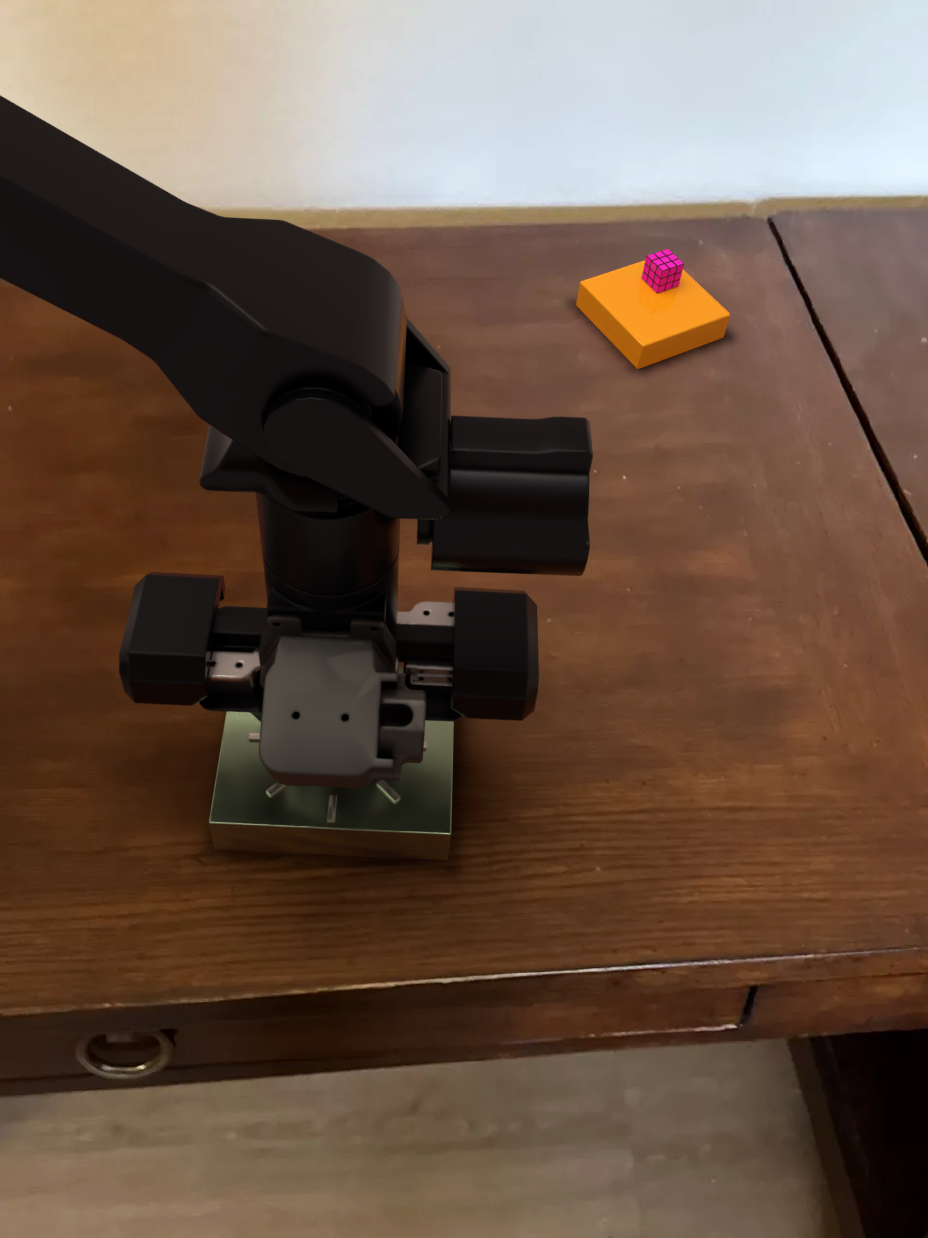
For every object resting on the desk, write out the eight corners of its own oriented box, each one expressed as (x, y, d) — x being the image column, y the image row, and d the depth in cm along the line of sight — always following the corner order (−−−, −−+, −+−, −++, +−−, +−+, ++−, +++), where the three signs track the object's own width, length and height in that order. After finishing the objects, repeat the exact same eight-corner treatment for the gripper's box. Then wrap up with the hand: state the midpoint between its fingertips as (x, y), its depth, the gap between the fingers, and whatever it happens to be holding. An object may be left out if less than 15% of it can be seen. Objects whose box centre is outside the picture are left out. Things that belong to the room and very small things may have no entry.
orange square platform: (724, 338, 90) (738, 291, 86) (637, 370, 87) (648, 323, 84) (660, 276, 94) (671, 229, 90) (575, 305, 91) (583, 257, 87)
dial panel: (213, 850, 62) (207, 821, 60) (238, 688, 68) (234, 655, 66) (447, 861, 63) (451, 833, 60) (451, 699, 69) (455, 667, 66)
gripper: (61, 693, 45) (128, 875, 58) (560, 716, 46) (519, 891, 58) (117, 476, 52) (166, 681, 64) (552, 499, 53) (517, 697, 65)
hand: (338, 738), depth 63 cm, fingers closed on pointer wheel, 5 cm apart
